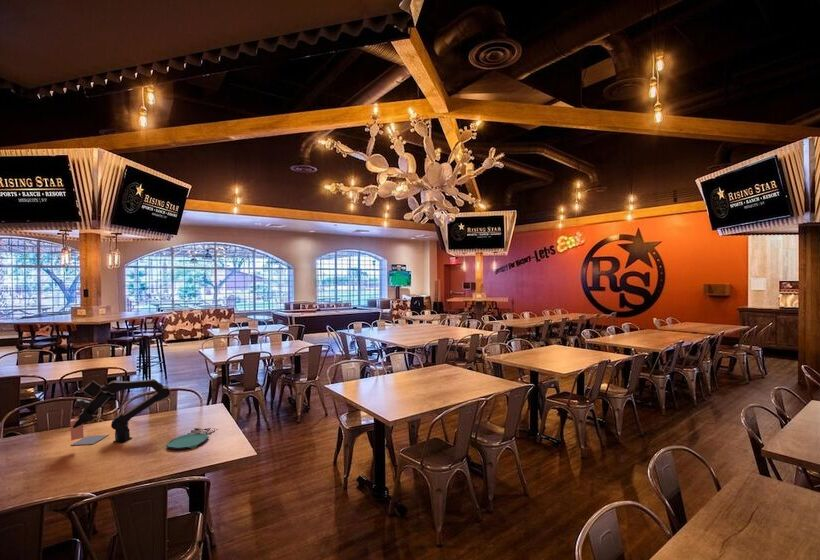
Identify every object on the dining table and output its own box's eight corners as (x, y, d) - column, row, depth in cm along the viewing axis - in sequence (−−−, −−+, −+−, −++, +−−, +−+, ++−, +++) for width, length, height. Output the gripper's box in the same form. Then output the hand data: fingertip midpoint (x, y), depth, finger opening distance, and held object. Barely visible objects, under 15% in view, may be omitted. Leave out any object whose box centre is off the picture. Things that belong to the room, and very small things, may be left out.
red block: (83, 434, 215) (82, 416, 215) (83, 437, 212) (82, 419, 211) (71, 437, 212) (70, 419, 212) (71, 440, 208) (70, 421, 208)
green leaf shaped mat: (158, 451, 208) (158, 447, 208) (192, 430, 238) (192, 426, 238) (195, 451, 207) (195, 447, 207) (224, 430, 237) (224, 426, 237)
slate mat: (108, 435, 231) (108, 435, 231) (93, 444, 219) (93, 443, 219) (86, 436, 230) (86, 436, 230) (70, 445, 218) (70, 444, 218)
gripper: (85, 389, 221) (60, 413, 215) (84, 397, 207) (57, 423, 200) (103, 400, 226) (79, 424, 220) (104, 408, 212) (78, 434, 205)
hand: (73, 426), depth 211 cm, fingers closed on red block, 5 cm apart
